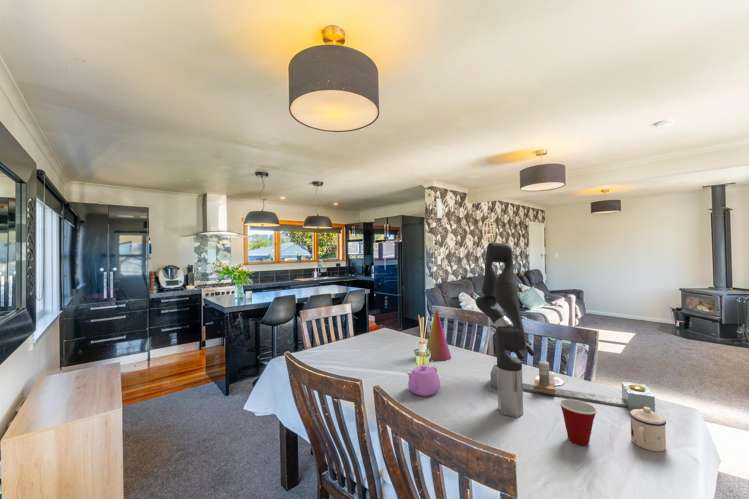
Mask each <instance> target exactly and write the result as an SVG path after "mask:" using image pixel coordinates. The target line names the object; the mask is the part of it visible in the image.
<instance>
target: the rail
mask: <svg viewBox="0 0 749 499" xmlns="http://www.w3.org/2000/svg"><path fill="white" fill-rule="evenodd" d="M522 385H523V392H529V393H535V394H541V395H546V396H547V395H548V396H554V397H559V398H565V399H573V400H578V401H583V402H585V401H586V402H590V403H591V402H592V403H597V404H602V405H611V406H615V407H621V408H622V407H623V408H627V410H628V412H630V411H632V410H634V409H643V407H649V408H650V409H651V411H653V412H654V413H656V400H655V395H654V394H653V392H652V391H651V390H650V388H649V387H648V386H647V384H643V383H635V382H627V381H621V397H620V398H619V397H613V396H608V395H601V394H595V393H589V392H582V391H575V390H568V389H563V388H556V387H555V394H550V393H544V392H538V391H534V384H531V383H529V384H528V383H523V382H522ZM490 389H494V390H498V388H497V364H493V367H492V368H491V371H490Z"/></svg>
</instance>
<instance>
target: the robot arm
mask: <svg viewBox="0 0 749 499" xmlns="http://www.w3.org/2000/svg"><path fill="white" fill-rule="evenodd" d="M513 256H514V254H513V247H512V245H511V244H510V243H506V242H505V243H504V242H489V244H487V247H486V250H485V263H484V276H483V282H482V285H481V293H482V294H483V295H481V296H478V297H477V298H476V299H475V304H476V307H477V309H479V311H480V312H482V313H483V314H485V316H486V317H488V318H489V319H490V320H491V322H492V323H493V324H494V327H495V328H496V329H495V331H494V332H495V347H496V365H497V388H498V389H497V409H498V411H499V413H500V415H504V416H509V417H515V418H519V417H520V416H522V415H523V414H524V394H523V392H524V391H523V385H522V383H523V362H522V360H524V359H525V355H524V354H523V353H522V352H523V351H525V350H526V351H527V353H528V354H529V355H530V356H531V357H534V356H535V355H536V353H535V350H533V349H532V348H531V346H532V345H533V344H532V342H531V341H530V340H529V339H528V338H527V337H526V334H525V333H526V332H525V329H524V323H523V320H522V315H521V311H520V303H519V294H518V289H517V283H516V282H517V281H516V278H515V277H516V276H515V270H514V257H513ZM493 263H501V264H504V268H503V269H502V272H501V273H500V274H499V276H497V273H496V272H495V270H494V268H493ZM497 304H498V306H500V308H499V307H495V306H496V305H497ZM502 310H503V311H504V312H503V311H502ZM508 317H509V318H508ZM506 351H508V352H510V353H513V354H515V355H516V357H515V356H512V355H511V354H510V355H509V354H508V353H507V352H506Z"/></svg>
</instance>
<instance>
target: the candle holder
mask: <svg viewBox="0 0 749 499" xmlns="http://www.w3.org/2000/svg"><path fill="white" fill-rule="evenodd" d="M535 379H538V380H539V375H537V376H536V377H534V380H535ZM556 380H557V381H558V382H559V383H556V382H555V381H556ZM549 381H552V382H554V383H555V386H562V385H563V384H564V381H563V379H561V378H560V377H556V376H555V372H553V371H550V370H549Z"/></svg>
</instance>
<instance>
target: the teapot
mask: <svg viewBox="0 0 749 499" xmlns="http://www.w3.org/2000/svg"><path fill="white" fill-rule="evenodd" d="M406 375H408V383H407V384H408V385H407V387H408V389H409V391H410V392H411V393H413V394H415V395H419V396H422V397H429V396H432V395H435V394H437V393H438V392H439V390H440V389H441V380H440V377H439V374H438V369H437V368H436V367H435V366H428V365H426V364H421V365H420V366H419V365H418V366H416V367H415V368H413V369H412V371H411V372H406Z"/></svg>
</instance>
